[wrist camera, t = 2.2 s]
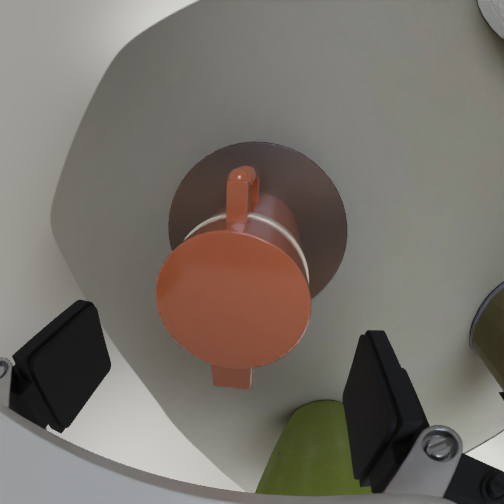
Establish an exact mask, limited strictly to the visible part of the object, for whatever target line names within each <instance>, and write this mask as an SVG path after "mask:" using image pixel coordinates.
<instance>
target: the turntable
mask: <svg viewBox="0 0 504 504" xmlns="http://www.w3.org/2000/svg"><path fill="white" fill-rule="evenodd" d="M249 164H255V165H257V166H258V167H259V168H260V171H261V173H260V193H265V194H269V195H272V196H274V197H276V198H278V199H280V200H281V201H282V202H284V203H285V204H286V205H287V206H288V207H289V208H290V210H291V211H292V212H293V214H294V216H295V218H296V220H297V223H298V227H299V232H300V237H301V243H302V248H303V253H304V255H305V257H306V262H307V266H308V272H309V290H310V297H311V299H312V298H314V297H315V296H316V295H318V294H319V293H320V292H321V291H322V290H323V289H324V288H325V287H326V286H327V285H328V283H329V282H330V281H331V280H332V278H333V277H334V275H335V273H336V272H337V270H338V268H339V266H340V263H341V261H342V259H343V255H344V252H345V248H346V242H347V220H346V213H345V209H344V206H343V202H342V200H341V197H340V195H339V193H338V191H337V189H336V187H335V186H334V184H333V183H332V181H331V179H330V178H329V177H328V176H327V175H326V173H325V172H324V171H323V170H322V169H321V168H320V167H319V166H318V165H317V164H315V163H314V162H313V161H312V160H310V159H309V158H307V157H306V156H304V155H303V154H301V153H299V152H297V151H295V150H293V149H291V148H288V147H285V146H282V145H278V144H273V143H267V142H245V143H238V144H234V145H230V146H227V147H224V148H222V149H219V150H217V151H215V152H213V153H212V154H210V155H208V156H206V157H205V158H204V159H202V160H201V161H200V162H198V163H197V164H196V165H195V166H194V167H193V168H192V169H191V170H190V171H189V172H188V174H187V175H186V176H185V178H184V179H183V180H182V182H181V184H180V185H179V187H178V189H177V191H176V193H175V196H174V198H173V201H172V205H171V209H170V214H169V239H170V245H171V249H172V251H173V250H174V249H175V248H176V247H177V246H178V245H180V244H181V243H182V242H183V241H184V239H185V237H186V236H187V235H188V234H189V233H190V232H191V231H192V230H193V229H194V228H195V227H196V226H198V225H199V224H200V223H201V222H203V221H205V220H206V219H208V218H209V217H211V216H212V215H213V214H214V213H215V212H216V211H217V210H219V209H220V208H221V207H222V206H223V205H224V204H225V203H226V192H227V181H228V180H227V179H228V175H229V173H230V172H231V171H232V170H234V169H236V168H239V167H242V166H246V165H249Z"/></svg>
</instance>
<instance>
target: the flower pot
mask: <svg viewBox="0 0 504 504" xmlns="http://www.w3.org/2000/svg"><path fill="white" fill-rule="evenodd" d="M255 493H256V494H268V495H287V496H338V495H361V494H374V493H372V492H371V486H370V487H361V488H360V483H359V480H355V479H354V476H353V468H352V460H351V452H350V445H349V438H348V431H347V425H346V418H345V412H344V406H343V403H341V402H337V401H331V400H323V401H316V402H312V403H308V404H306V405H304V406H302V407H300V408H299V409H297V410H296V411H295V412H294V413H293V415H292V417H291V418H290V420H289V422H288V424H287V425H286V427H285V429H284V431H283V433H282V434H281V436H280V438H279V440H278V442H277V444H276V446H275V448H274V451H273V453H272V455H271V457H270V459H269V461H268V463H267V466H266V468H265V470H264V472H263V475H262V477H261V480H260V482H259V484H258V487H257V489H256V492H255Z"/></svg>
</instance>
